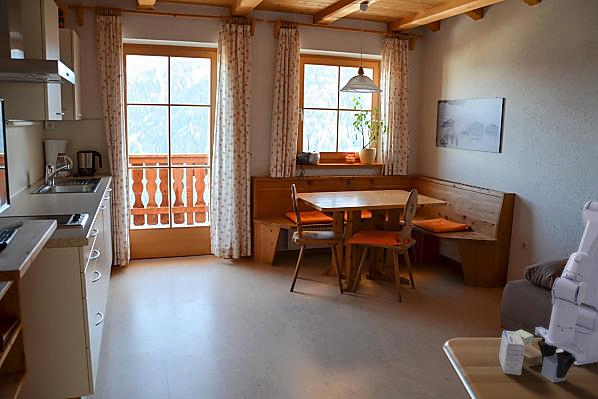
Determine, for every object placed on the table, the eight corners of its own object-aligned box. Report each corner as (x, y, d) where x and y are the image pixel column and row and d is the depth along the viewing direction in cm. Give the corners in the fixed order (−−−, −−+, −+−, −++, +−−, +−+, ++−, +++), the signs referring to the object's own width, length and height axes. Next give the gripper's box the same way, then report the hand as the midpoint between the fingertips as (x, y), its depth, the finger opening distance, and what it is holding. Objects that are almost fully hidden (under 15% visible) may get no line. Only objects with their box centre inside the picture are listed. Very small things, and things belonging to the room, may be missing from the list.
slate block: (552, 372, 139) (556, 355, 138) (564, 380, 135) (568, 362, 134) (540, 374, 138) (544, 356, 137) (552, 382, 134) (556, 364, 133)
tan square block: (527, 354, 149) (529, 344, 148) (544, 364, 143) (546, 354, 143) (511, 356, 146) (512, 347, 146) (527, 368, 141) (528, 357, 140)
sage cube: (518, 341, 155) (521, 329, 154) (531, 347, 152) (533, 335, 151) (510, 344, 153) (512, 332, 152) (523, 351, 150) (525, 338, 149)
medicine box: (520, 376, 136) (526, 345, 134) (502, 373, 137) (507, 343, 135) (515, 361, 144) (519, 332, 142) (497, 358, 144) (502, 329, 143)
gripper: (529, 313, 139) (521, 360, 142) (573, 338, 125) (563, 390, 128) (550, 310, 141) (542, 356, 144) (596, 335, 128) (585, 386, 131)
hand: (553, 372), depth 136 cm, fingers closed on slate block, 4 cm apart
